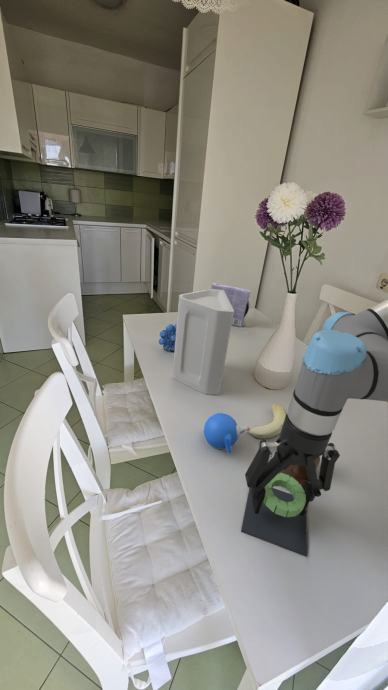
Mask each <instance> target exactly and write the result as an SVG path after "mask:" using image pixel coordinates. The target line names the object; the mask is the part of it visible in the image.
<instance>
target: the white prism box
mask: <svg viewBox="0 0 388 690" xmlns="http://www.w3.org/2000/svg"><path fill="white" fill-rule="evenodd" d="M233 314H234V310H233V308H232V306H231V304H230V302H229V300H228V298H227V296H226V293H225V291H224V290H216V289H211V288H209V289H203V290H197V291H192V292H186V293H181V294H179V295H178V305H177V318H176V323H177V328H176V340H175V351H173V352H174V353H173V364H172V379H173V380H175V381H177V382H179V383H181V384H183V385H186V386H188V387H189V388H192V389H193V390H196V391H198V392H200V393H201V394H204V395H208V396H219V395H220V394H221V387H222V383H223V382H222V381H223V376H224V371H225V366H226V365H225V364H226V359H227V353H228V348H229V342H230V336H231V330H232V326H233V325H232V319H233Z"/></svg>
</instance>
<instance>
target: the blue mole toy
mask: <svg viewBox="0 0 388 690" xmlns="http://www.w3.org/2000/svg"><path fill="white" fill-rule="evenodd" d="M250 429H251V427H250V426H241V425H238V423H237V422H236V418H234V417H233V416H231V414H228V413H225V412H217V413H213V414H212V415H210V416H209V417H208V418H207V420H206V421H205V423H204V426H203V434H204V438H205V441H206V442H207V444H209V446H210V447H212V448H213V449H216V450H226V453H227V454H231V452H232V446H233V445H235V444H236V442H237V440H238V438H239V437H240V436H242V435H243V434H244V433H245V432H247V431H249V430H250Z"/></svg>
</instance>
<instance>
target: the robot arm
mask: <svg viewBox="0 0 388 690" xmlns="http://www.w3.org/2000/svg"><path fill="white" fill-rule="evenodd" d="M348 399H353V400H354V399H355V400H368V401H376V402H377V401H379V402H388V299H385V300H382V301H381V302H379V303H377V304H375V305H373V306H371V307H369V308H367V309H365V310H363V311H361V312H359V313H354V312H350V311H338V312H336V313H333V314H332V315H330V316H329V317H328V318H327V319H326V320H325V322H324V324H323V325H322V329H321V330H319V331H316V332H315V333H314V334H313V335H312V336H311V339H310V341H309V343H308V346H307V347H306V350H305V352H304V354H303V356H302V363H301V367H300V370H299V374H298V376H297V379H296V383H295V387H294V390H293V392H292V396H291V398H290V402H289V405H288V408H287V411H286V417H285V420H284V423H283V426H282V430H281V433H280V434H279V437H278V438H277V439H276V440H275V441H274V442H273V441H272V442H271V441H270V442H267V439H266V438H264V439H260V440H259V445H258V449H257V451H256V454H255V455H254V457H253V459H252V460H251V462H250V465H249V466H248V468H247V470H246V472H245V473H244V476H245V477H244V478H245V482H246V486H247V488H248V489H249V488H252V489H251V494H252V498H253V499H252V503H253V507H254V512H255V514H259V511H260V508H261V505H262V502H263V499H264V496H265V493H266V491H265V486H266V485H267V484H268V483H269V482H270V481H271V480H272V479H273V478H274V477H275V476H276V475H277V474H278V473H280V472H281V471H282V470H286V469H287V468H288V467H289V466H290V465H301V466H305V467H306V471H307V476H308V480H309V483H308V481H304V483H303V485H302V488H303V489H304V491H305V494H306V503H305V506H304V508H303V510H302V511H301V512H300V513H299V515H303V516H304V513H305V511H306V512H307V508H308V506H309V504H310V502H313V501H314V500H315V498H316V497H317V498H318V497H321V496H322V492H321V490H323V491H324V492H328V491H330V490H331V485H332V480H333V476H334V471H335V465H336V462H337V461H338V459H339V458H340V457H341V455H340V453H339V450H338V449H337V447H336V445H335V444H334V443H333V442H330V440H331V437H332V435H333V432H334V431H335V429H336V426H337V424H338V421H339V419H340V416H341V413H342V412H343V410H344V407H345V405H346V403H347V401H348ZM273 453H274V454H273ZM318 457H320V458H321V459H320V467H319V472H318V475H317V470H316V467H315V463H314V460H315V459H317V458H318Z"/></svg>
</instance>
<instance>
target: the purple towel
mask: <svg viewBox="0 0 388 690" xmlns="http://www.w3.org/2000/svg"><path fill="white" fill-rule="evenodd" d="M210 289H216V290H224V291H225V293H226V296H227V298H228V300H229V302H230V304H231V306H232V308H233V310H234V314H233V319H232V325H231V326H233V327H239V328H243V326H244V324H245V319H246V316H247V314H248V313H249V310H250V296H251V289H246V288H241V287H236V286H233V285H227V284H223V283H217V282H213V283H211V287H210Z"/></svg>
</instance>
